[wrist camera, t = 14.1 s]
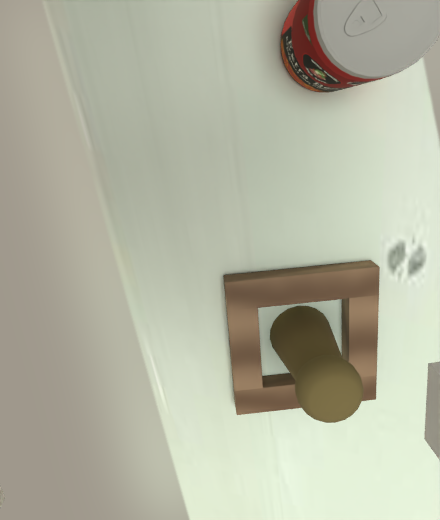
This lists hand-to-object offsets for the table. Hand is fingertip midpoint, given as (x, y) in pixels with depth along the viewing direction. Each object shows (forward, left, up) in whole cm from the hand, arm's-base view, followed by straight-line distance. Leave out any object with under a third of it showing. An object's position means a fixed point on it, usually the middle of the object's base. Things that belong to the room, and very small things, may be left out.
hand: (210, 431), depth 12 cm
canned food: (-14, +12, -27) cm, 33 cm away
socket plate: (+12, +9, -27) cm, 31 cm away
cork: (+12, +9, -27) cm, 31 cm away
